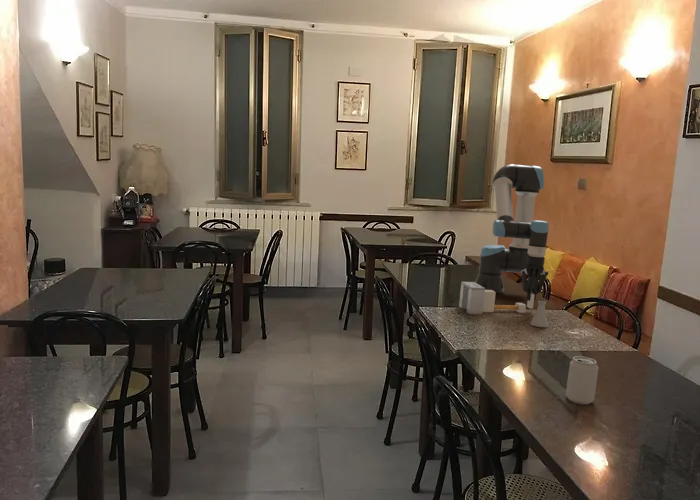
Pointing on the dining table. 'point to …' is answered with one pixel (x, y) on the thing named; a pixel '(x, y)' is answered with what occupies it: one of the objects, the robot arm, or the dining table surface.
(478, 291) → the housing
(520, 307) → the white and wooden mallet
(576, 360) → the can
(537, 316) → the flask
